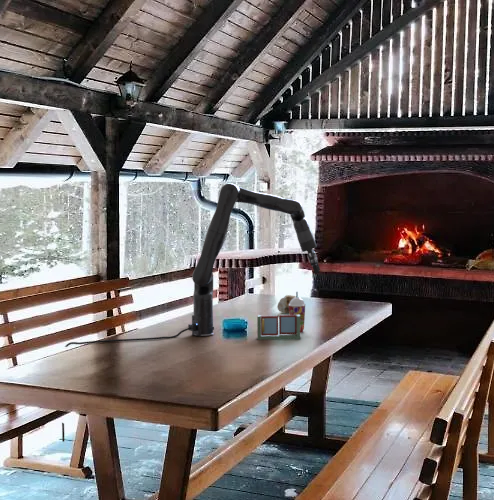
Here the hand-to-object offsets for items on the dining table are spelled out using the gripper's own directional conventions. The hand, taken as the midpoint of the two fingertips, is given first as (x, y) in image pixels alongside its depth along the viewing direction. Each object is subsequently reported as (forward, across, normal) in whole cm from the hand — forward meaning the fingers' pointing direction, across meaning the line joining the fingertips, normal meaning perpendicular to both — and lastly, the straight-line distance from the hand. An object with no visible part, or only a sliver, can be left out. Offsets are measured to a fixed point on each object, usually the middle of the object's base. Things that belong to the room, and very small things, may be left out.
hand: (317, 271), depth 351 cm
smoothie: (+26, -7, -20) cm, 33 cm away
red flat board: (+20, +13, -30) cm, 38 cm away
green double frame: (+23, +10, -27) cm, 37 cm away
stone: (+24, -66, -29) cm, 75 cm away
